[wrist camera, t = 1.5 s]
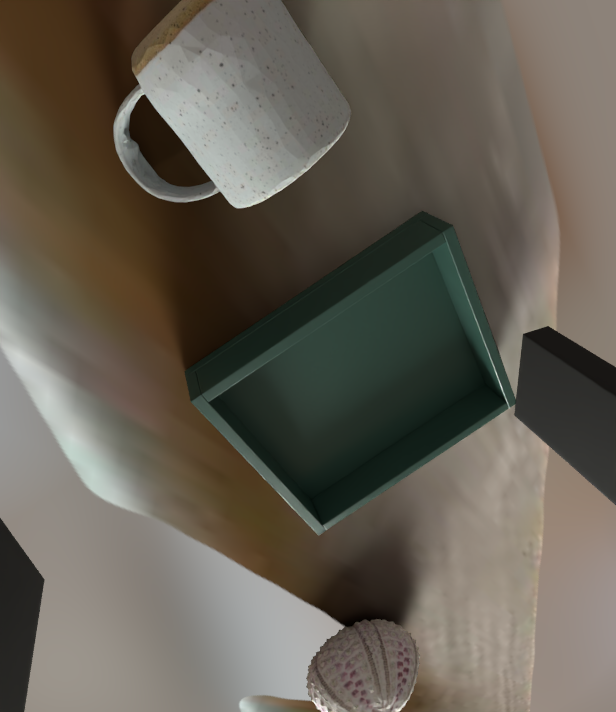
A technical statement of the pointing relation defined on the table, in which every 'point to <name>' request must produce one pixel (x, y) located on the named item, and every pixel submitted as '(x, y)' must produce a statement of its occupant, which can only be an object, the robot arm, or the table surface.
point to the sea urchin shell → (364, 669)
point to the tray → (359, 375)
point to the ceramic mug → (233, 99)
